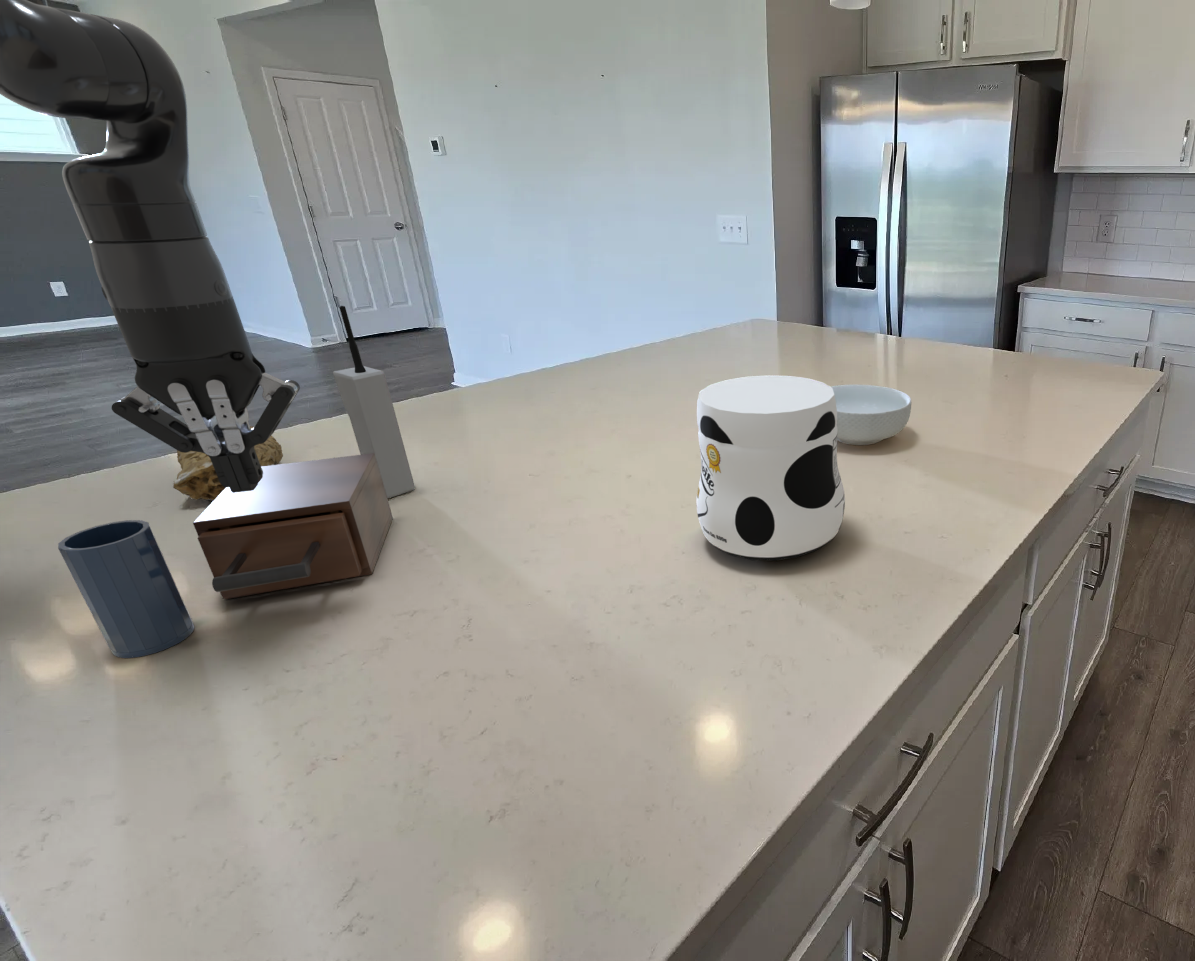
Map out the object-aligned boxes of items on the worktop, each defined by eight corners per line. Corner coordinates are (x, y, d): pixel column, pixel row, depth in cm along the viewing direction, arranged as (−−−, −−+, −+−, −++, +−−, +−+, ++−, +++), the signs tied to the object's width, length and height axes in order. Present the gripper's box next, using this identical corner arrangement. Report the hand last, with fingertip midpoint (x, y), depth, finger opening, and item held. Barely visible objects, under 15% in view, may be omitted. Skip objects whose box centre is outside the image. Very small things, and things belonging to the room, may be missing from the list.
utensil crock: (99, 664, 61) (42, 555, 57) (129, 629, 66) (78, 526, 62) (180, 649, 64) (131, 542, 59) (204, 616, 68) (160, 515, 64)
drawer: (348, 606, 68) (327, 544, 66) (198, 633, 64) (169, 568, 61) (381, 521, 85) (366, 469, 82) (264, 539, 81) (244, 484, 78)
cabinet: (372, 574, 76) (349, 501, 72) (224, 600, 71) (192, 522, 67) (393, 517, 88) (374, 452, 84) (268, 536, 83) (243, 468, 80)
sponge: (282, 503, 94) (305, 430, 109) (247, 457, 89) (275, 387, 104) (167, 536, 91) (206, 456, 105) (123, 489, 86) (170, 412, 100)
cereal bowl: (904, 459, 108) (906, 415, 105) (799, 452, 110) (798, 409, 107) (913, 424, 123) (915, 385, 120) (821, 418, 125) (821, 380, 123)
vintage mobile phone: (396, 482, 98) (345, 301, 88) (416, 489, 96) (366, 304, 86) (367, 491, 95) (312, 305, 85) (387, 499, 93) (332, 309, 83)
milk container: (674, 532, 85) (658, 389, 78) (790, 494, 95) (786, 365, 88) (750, 591, 73) (740, 429, 66) (874, 542, 83) (877, 396, 76)
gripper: (283, 286, 63) (339, 463, 70) (90, 295, 58) (171, 485, 65) (257, 299, 57) (321, 492, 64) (38, 310, 52) (134, 518, 59)
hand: (245, 488), depth 64 cm, fingers closed
